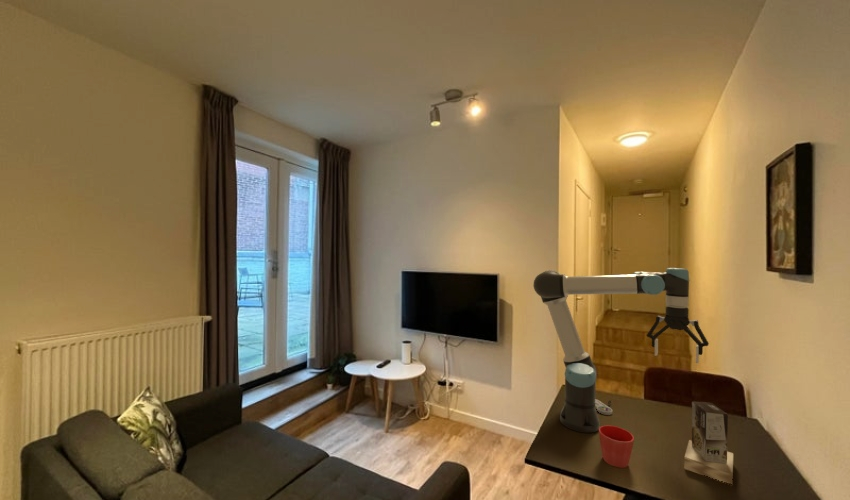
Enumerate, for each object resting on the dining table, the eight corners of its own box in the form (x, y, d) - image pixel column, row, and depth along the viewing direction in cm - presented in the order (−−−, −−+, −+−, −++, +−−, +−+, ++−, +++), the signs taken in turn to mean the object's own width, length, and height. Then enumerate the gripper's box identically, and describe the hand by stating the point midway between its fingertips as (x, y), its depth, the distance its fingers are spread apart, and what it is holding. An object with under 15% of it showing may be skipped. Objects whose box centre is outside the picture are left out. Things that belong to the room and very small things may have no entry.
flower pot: (631, 456, 123) (632, 428, 123) (635, 474, 113) (635, 444, 113) (598, 448, 128) (598, 422, 128) (598, 465, 118) (599, 437, 118)
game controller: (581, 401, 168) (581, 397, 168) (605, 399, 170) (606, 396, 170) (602, 416, 153) (602, 412, 153) (628, 414, 155) (628, 410, 155)
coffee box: (728, 464, 113) (729, 414, 112) (705, 461, 114) (706, 412, 114) (712, 448, 122) (712, 402, 121) (690, 446, 123) (691, 400, 123)
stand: (684, 468, 117) (684, 456, 117) (689, 450, 127) (689, 439, 127) (732, 485, 109) (732, 472, 108) (733, 465, 119) (733, 453, 119)
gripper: (717, 309, 136) (716, 363, 136) (643, 301, 153) (642, 350, 153) (716, 311, 130) (715, 368, 131) (639, 303, 147) (638, 354, 147)
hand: (676, 358), depth 142 cm, fingers open, 13 cm apart
